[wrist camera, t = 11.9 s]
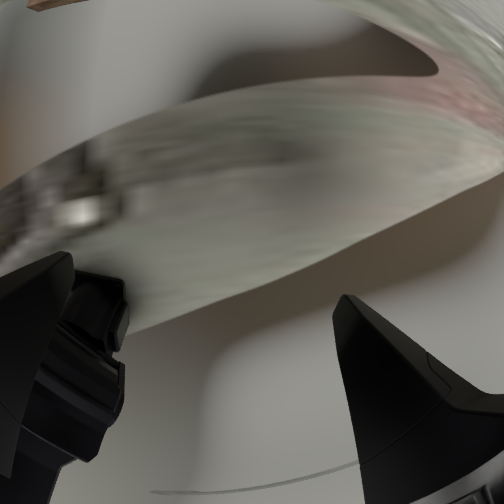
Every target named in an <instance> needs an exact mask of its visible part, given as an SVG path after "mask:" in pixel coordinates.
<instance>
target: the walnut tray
mask: <svg viewBox="0 0 504 504" xmlns="http://www.w3.org/2000/svg"><path fill="white" fill-rule="evenodd" d="M81 1H87V0H29V2H28V4H27V8H30V9H32V10H35V11H38V12H39V11H43V10H46V9H50V8H54V7H57V6H62V5H66V4H71V3H76V2H81Z"/></svg>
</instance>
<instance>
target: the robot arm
mask: <svg viewBox="0 0 504 504" xmlns="http://www.w3.org/2000/svg"><path fill="white" fill-rule="evenodd" d="M117 284H119V285H120V286H118V285H117ZM332 319H333V327H334V335H335V342H336V349H337V356H338V361H339V365H340V370H341V374H342V378H343V383H344V387H345V392H346V396H347V401H348V406H349V411H350V416H351V421H352V425H353V431H354V436H355V441H356V447H357V453H358V458H359V464H360V471H361V478H362V485H363V491H364V499H365V504H504V394H489V393H485V392H483V391H481V390H479V389H478V388H476V387H475V386H473V385H472V384H471V383H469V382H468V381H466V380H465V379H463V378H462V377H460V376H459V375H458V374H456V373H455V372H453V371H452V370H451V369H449V368H448V367H447V366H445V365H444V364H443V363H441V362H440V361H439V360H437V359H436V358H435V357H434V356H432V355H431V354H430V353H429V352H426V350H425V349H424V348H422V347H421V346H420V345H419V344H417V343H416V342H414V341H413V340H412V339H411V338H410V337H408V336H407V335H406V334H404V333H403V332H402V331H401V330H399V329H398V328H397V327H395V326H394V325H393V324H391V323H390V322H389V321H388V320H386V319H385V318H384V317H382V316H381V315H380V314H379V313H377V312H376V311H375V310H373V309H372V308H371V307H369V306H368V305H367V304H365V303H364V302H363V301H361V300H360V299H359V298H357V297H356V296H354V295H350V294H343V295H342V296H341V297H340V299H339V301H338V304H337V306H336V308H335V310H334V312H333V316H332ZM128 325H129V311H128V303H127V301H125V287H124V282H123V281H122V280H120V279H115V278H110V277H105V276H100V275H95V274H90V273H85V272H80V271H75V270H74V265H73V258H72V255H71V254H70V253H68V252H63V251H59V252H57V253H54V254H52V255H49V256H47V257H45V258H42V259H40V260H38V261H35V262H33V263H31V264H29V265H26V266H24V267H22V268H20V269H17V270H15V271H13V272H11V273H9V274H6V275H4V276H2V277H0V504H49V502H50V499H51V496H52V492H53V490H54V487H55V484H56V481H57V478H58V476H59V473H60V470H61V468H62V467H63V466H65V465H67V464H69V463H71V462H73V461H75V460H77V459H79V460H81V461H84V462H89V461H91V460H92V459H93V458H94V457H95V456H97V454H98V452H99V449H100V445H101V442H102V439H103V437H104V434H105V432H106V430H107V428H108V427H110V426H111V425H113V424H114V422H115V421H116V419H117V418H118V416H119V414H120V412H121V409H122V406H123V403H124V383H125V364H123V363H121V362H120V361H119V362H118V361H117V360H115V359H114V358H112V354H113V352H119V351H120V348H121V345H122V342H123V339H124V336H125V333H126V331H127V328H128Z"/></svg>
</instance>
